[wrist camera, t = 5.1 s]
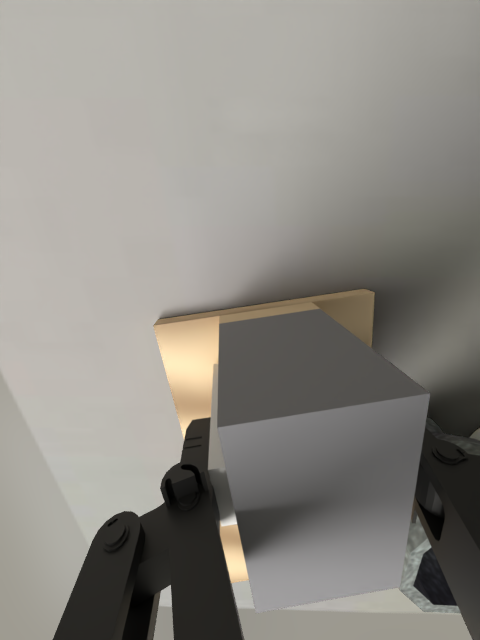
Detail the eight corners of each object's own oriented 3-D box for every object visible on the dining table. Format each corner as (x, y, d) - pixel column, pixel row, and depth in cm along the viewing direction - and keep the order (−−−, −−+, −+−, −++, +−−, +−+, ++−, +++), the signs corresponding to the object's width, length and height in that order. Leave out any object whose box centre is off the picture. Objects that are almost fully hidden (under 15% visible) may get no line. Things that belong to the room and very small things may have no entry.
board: (157, 319, 14) (153, 325, 13) (364, 288, 14) (374, 292, 13) (223, 569, 22) (223, 584, 21) (354, 546, 22) (360, 560, 21)
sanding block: (219, 316, 13) (217, 427, 6) (311, 302, 13) (430, 393, 6) (239, 432, 16) (255, 613, 8) (315, 420, 16) (399, 587, 8)
